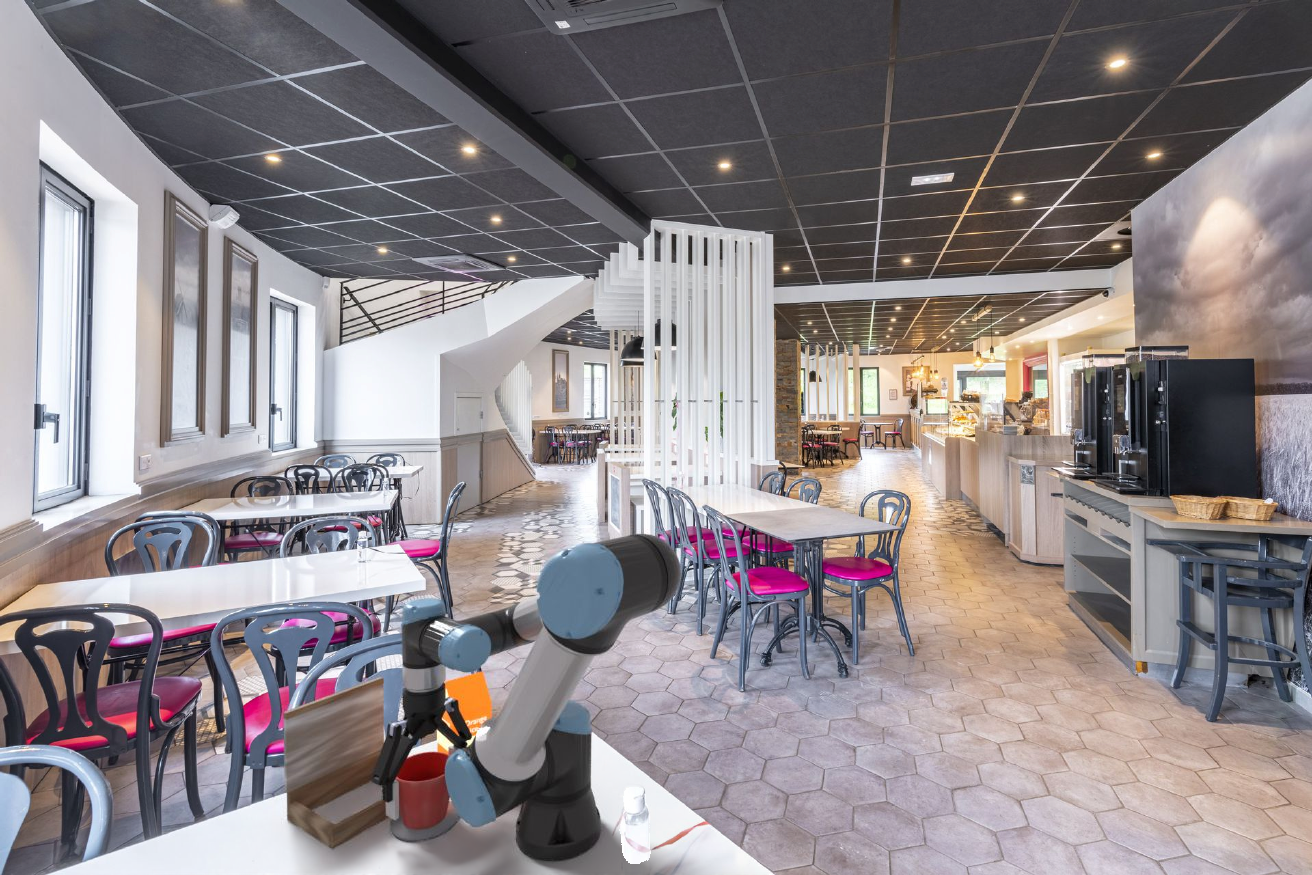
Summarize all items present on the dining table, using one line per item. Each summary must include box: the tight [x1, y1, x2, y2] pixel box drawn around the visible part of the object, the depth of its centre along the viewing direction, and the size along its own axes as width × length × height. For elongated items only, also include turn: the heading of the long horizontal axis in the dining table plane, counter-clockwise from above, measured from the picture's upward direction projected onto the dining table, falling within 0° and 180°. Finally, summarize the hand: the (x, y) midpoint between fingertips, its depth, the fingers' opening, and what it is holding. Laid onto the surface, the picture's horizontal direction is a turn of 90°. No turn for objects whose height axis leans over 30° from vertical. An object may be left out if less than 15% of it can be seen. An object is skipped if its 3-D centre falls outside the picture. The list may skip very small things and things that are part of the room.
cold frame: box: [282, 676, 400, 850], centre depth 125 cm, size 17×20×20 cm
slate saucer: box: [389, 800, 460, 843], centre depth 121 cm, size 12×12×1 cm
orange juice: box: [436, 670, 493, 754], centre depth 138 cm, size 8×9×20 cm
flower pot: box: [395, 751, 451, 830], centre depth 120 cm, size 11×11×10 cm
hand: (425, 798), depth 120 cm, fingers open, 13 cm apart
